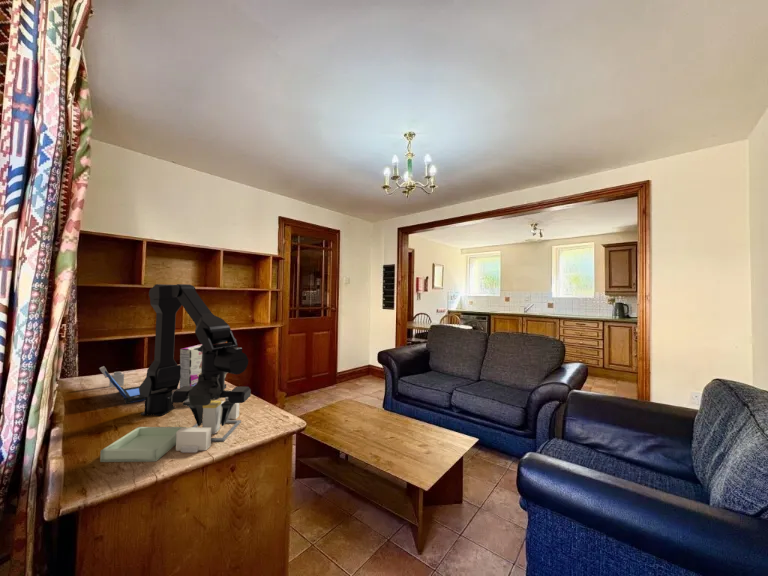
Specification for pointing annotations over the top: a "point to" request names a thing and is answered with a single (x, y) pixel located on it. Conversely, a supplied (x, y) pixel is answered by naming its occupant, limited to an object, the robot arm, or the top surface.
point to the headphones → (203, 433)
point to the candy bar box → (190, 365)
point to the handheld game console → (127, 391)
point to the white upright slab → (114, 377)
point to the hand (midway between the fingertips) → (211, 425)
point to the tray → (141, 445)
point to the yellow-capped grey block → (212, 416)
